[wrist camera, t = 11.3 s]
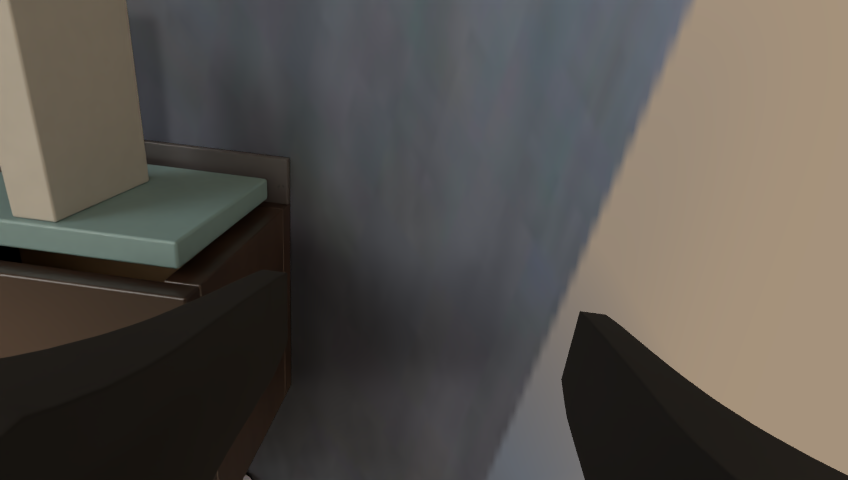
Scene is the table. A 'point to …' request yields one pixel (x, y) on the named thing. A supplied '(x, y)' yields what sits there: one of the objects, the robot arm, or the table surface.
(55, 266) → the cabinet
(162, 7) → the table surface
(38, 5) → the teal stand
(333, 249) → the table surface
